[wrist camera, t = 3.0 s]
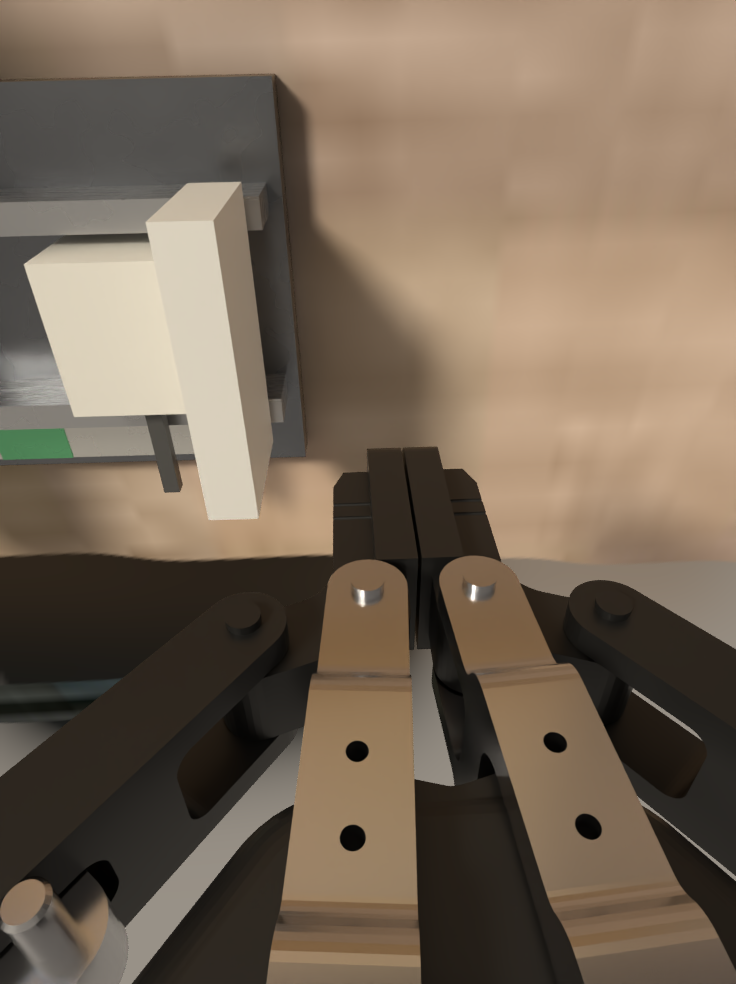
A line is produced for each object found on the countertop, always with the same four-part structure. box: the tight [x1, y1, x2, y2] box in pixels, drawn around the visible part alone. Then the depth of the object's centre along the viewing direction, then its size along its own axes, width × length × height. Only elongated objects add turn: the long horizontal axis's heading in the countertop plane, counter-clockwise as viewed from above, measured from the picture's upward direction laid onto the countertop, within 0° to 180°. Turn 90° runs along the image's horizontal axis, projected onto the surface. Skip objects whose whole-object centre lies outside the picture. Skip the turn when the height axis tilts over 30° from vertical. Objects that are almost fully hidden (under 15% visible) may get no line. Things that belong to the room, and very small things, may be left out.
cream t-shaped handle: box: [24, 182, 273, 520], centre depth 21 cm, size 7×11×7 cm, turn 1°
